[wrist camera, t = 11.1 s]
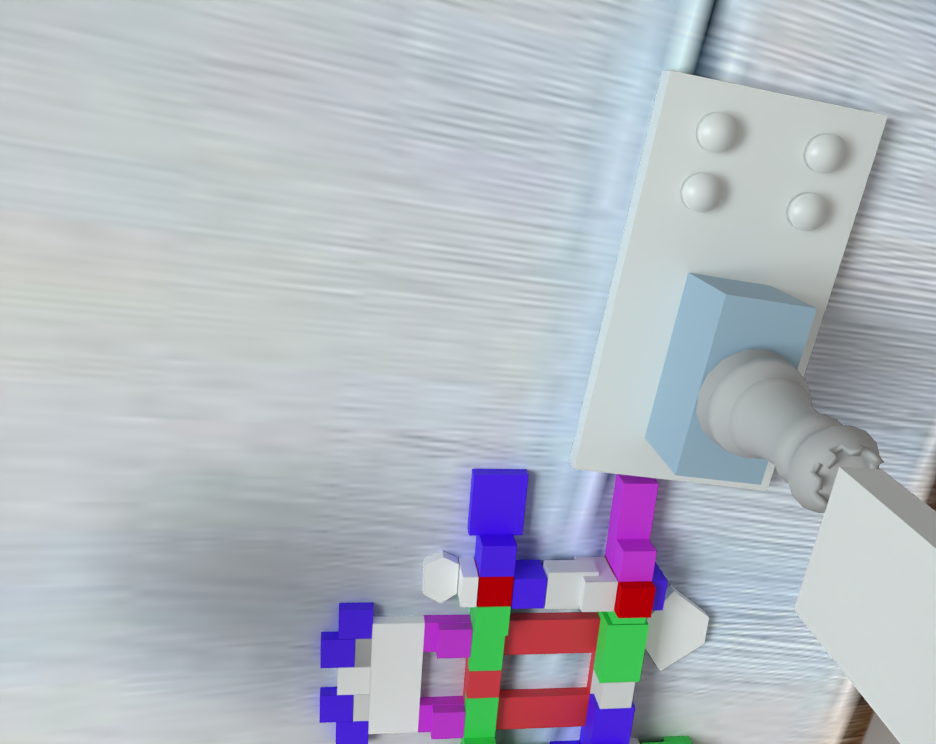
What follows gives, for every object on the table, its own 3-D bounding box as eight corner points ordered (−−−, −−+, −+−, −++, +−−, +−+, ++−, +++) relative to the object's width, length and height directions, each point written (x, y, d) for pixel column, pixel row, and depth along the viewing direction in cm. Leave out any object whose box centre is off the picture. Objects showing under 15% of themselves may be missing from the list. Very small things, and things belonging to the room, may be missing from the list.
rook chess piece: (808, 353, 34) (934, 429, 27) (775, 451, 36) (886, 549, 28) (709, 337, 34) (810, 410, 26) (678, 437, 35) (767, 535, 27)
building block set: (324, 463, 39) (321, 509, 35) (735, 466, 42) (777, 509, 38) (317, 863, 47) (314, 939, 43) (662, 841, 50) (691, 911, 46)
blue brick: (688, 272, 37) (726, 294, 33) (770, 285, 37) (816, 308, 34) (644, 437, 39) (675, 475, 35) (722, 446, 40) (760, 484, 36)
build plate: (661, 70, 35) (675, 70, 33) (874, 115, 37) (896, 116, 35) (568, 460, 40) (577, 474, 39) (757, 481, 42) (772, 496, 40)
